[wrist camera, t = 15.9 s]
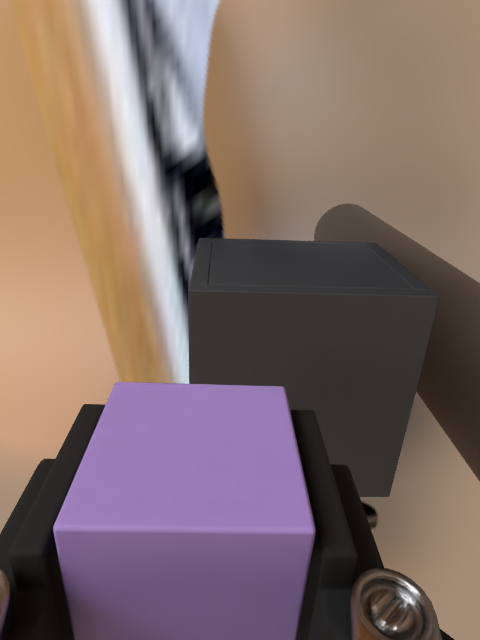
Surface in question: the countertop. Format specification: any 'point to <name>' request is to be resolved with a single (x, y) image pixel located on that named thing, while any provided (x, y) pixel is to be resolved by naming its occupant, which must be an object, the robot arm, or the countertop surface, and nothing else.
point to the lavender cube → (188, 517)
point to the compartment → (316, 338)
